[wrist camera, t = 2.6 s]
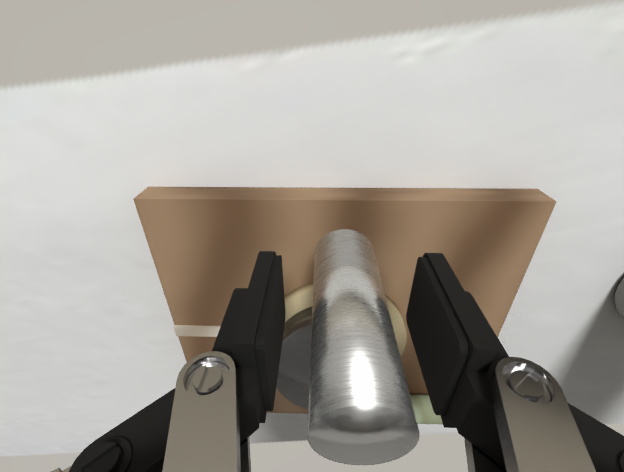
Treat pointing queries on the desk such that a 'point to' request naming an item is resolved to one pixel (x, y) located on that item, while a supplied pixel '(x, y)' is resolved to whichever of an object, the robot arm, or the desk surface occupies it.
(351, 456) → the grey rounded piece
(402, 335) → the base
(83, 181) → the desk surface
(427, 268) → the robot arm
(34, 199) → the desk surface
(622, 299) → the travel mug
